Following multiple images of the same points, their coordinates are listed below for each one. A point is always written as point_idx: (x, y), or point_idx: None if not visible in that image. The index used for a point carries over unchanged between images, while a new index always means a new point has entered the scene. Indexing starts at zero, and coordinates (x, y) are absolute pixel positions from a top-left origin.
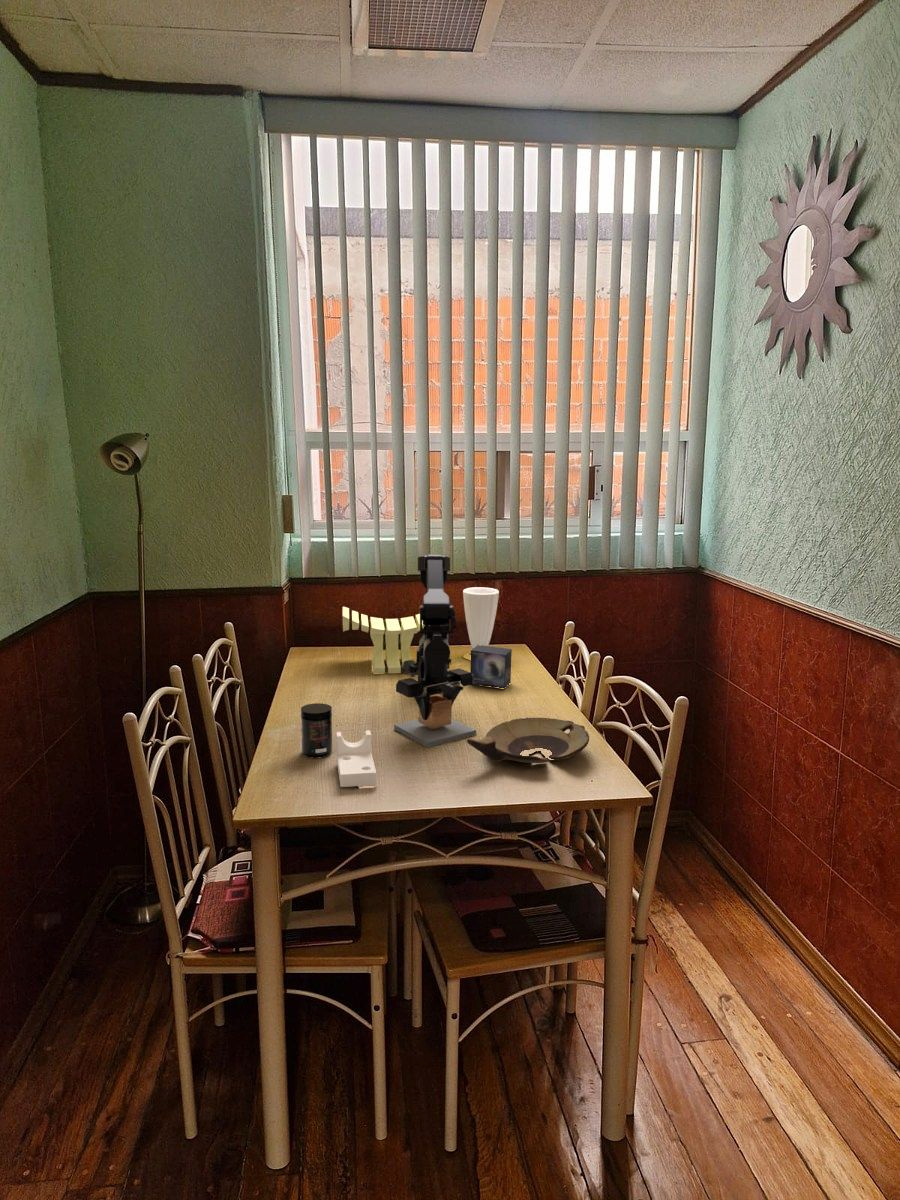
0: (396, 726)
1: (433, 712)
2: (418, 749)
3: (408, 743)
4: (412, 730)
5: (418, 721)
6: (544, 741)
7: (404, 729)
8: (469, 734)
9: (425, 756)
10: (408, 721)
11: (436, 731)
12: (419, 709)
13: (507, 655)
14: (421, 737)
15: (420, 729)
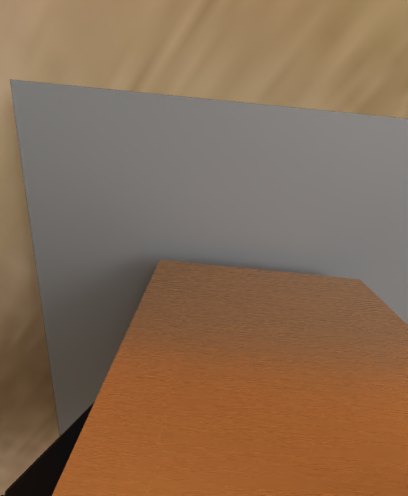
0: (19, 126)
1: None
2: (26, 410)
3: (15, 338)
4: (80, 283)
5: (159, 261)
6: None
7: (39, 234)
8: None
9: (18, 465)
10: (163, 104)
11: None
12: (53, 446)
13: None
14: (68, 390)
15: (137, 303)
